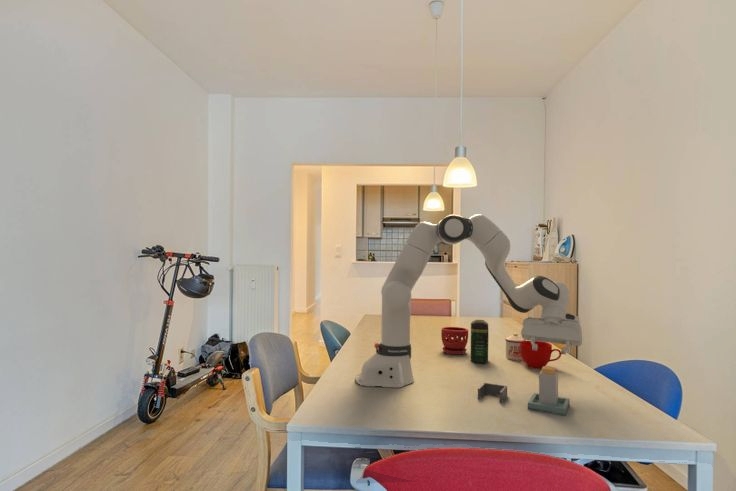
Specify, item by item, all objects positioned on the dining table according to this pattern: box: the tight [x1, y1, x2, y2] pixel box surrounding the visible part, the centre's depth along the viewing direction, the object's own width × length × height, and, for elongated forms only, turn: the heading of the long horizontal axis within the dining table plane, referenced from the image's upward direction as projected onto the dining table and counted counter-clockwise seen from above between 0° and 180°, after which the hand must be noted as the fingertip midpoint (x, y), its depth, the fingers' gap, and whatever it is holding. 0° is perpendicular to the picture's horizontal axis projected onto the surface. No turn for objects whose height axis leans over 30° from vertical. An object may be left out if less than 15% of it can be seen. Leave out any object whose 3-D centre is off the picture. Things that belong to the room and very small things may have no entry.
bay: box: [477, 382, 508, 404], centre depth 150 cm, size 8×8×4 cm
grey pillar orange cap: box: [538, 365, 559, 407], centre depth 141 cm, size 5×5×12 cm
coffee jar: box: [470, 319, 489, 364], centre depth 200 cm, size 10×8×19 cm
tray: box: [527, 392, 570, 417], centre depth 141 cm, size 11×11×2 cm
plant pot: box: [440, 326, 469, 356], centre depth 216 cm, size 13×13×12 cm
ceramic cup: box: [520, 340, 562, 370], centre depth 189 cm, size 13×17×10 cm
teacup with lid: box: [504, 332, 527, 361], centre depth 205 cm, size 12×9×12 cm
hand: (548, 351), depth 152 cm, fingers open, 8 cm apart
